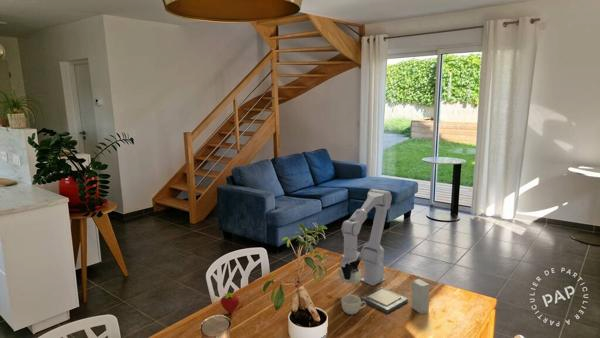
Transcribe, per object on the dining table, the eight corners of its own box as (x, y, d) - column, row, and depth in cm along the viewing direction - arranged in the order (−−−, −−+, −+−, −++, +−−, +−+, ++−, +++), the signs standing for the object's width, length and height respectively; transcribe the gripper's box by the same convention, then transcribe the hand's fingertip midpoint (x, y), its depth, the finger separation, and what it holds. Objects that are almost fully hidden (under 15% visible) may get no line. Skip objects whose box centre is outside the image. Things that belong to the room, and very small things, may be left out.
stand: (381, 290, 176) (381, 285, 176) (407, 301, 166) (407, 297, 165) (361, 300, 167) (361, 295, 167) (387, 313, 157) (387, 308, 156)
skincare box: (429, 312, 157) (430, 284, 155) (420, 314, 156) (422, 286, 153) (418, 305, 163) (419, 278, 161) (410, 307, 161) (411, 280, 159)
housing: (344, 275, 176) (345, 263, 175) (360, 280, 171) (361, 268, 170) (339, 279, 172) (339, 267, 171) (355, 284, 167) (355, 272, 166)
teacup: (342, 316, 155) (342, 304, 154) (340, 306, 162) (340, 294, 161) (367, 316, 155) (367, 304, 154) (364, 306, 162) (364, 294, 161)
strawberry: (237, 318, 154) (236, 294, 153) (219, 317, 155) (218, 293, 154) (241, 310, 160) (240, 287, 159) (223, 309, 161) (222, 286, 159)
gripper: (350, 240, 177) (350, 268, 179) (333, 250, 165) (333, 280, 168) (364, 244, 173) (364, 272, 175) (348, 254, 161) (348, 284, 164)
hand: (350, 276), depth 171 cm, fingers closed on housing, 5 cm apart
